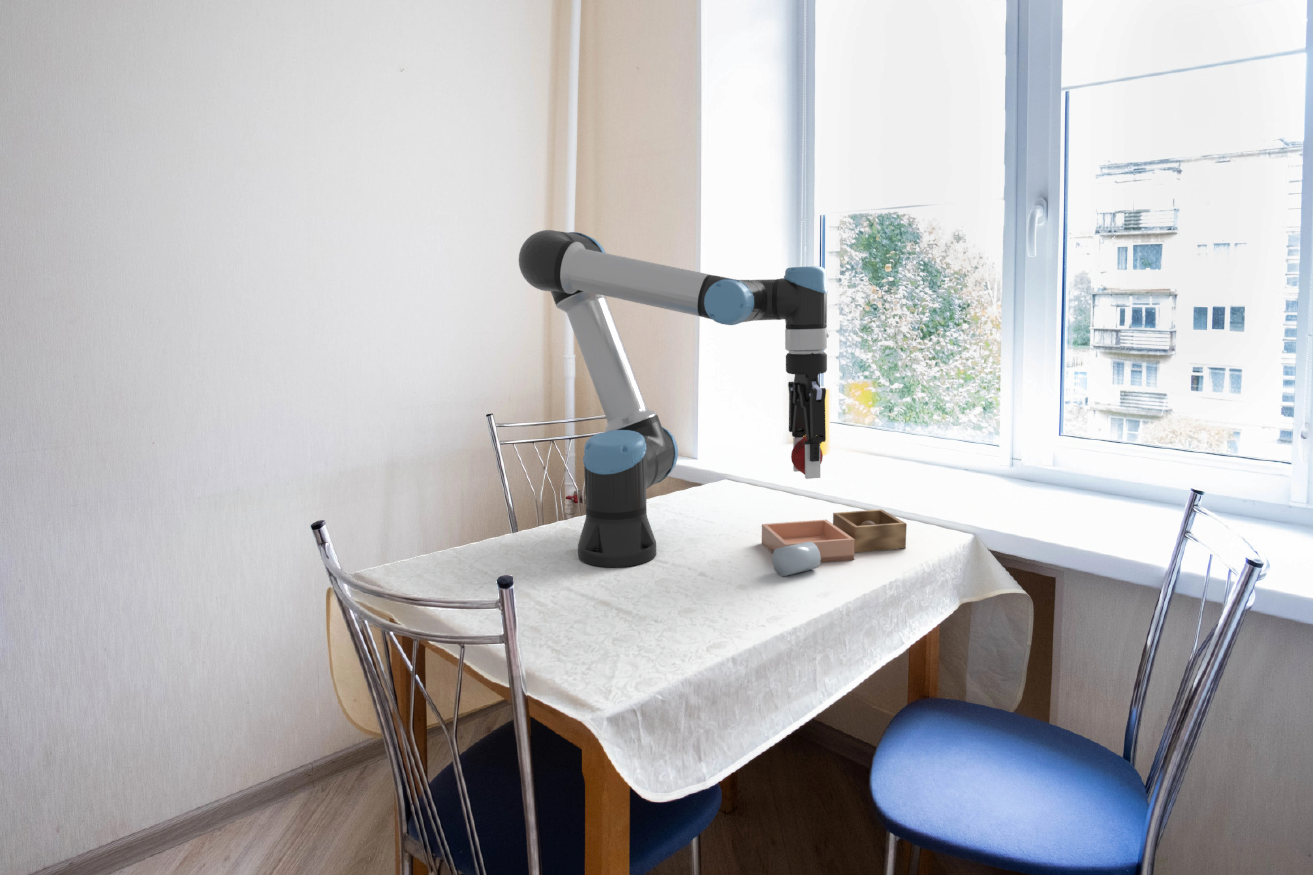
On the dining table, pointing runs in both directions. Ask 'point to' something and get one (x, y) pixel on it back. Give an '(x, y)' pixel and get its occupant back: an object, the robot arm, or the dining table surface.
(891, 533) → the crate
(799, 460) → the onion
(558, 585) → the dining table surface
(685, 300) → the robot arm
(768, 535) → the tray
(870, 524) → the chestnut
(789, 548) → the pale blue capsule
